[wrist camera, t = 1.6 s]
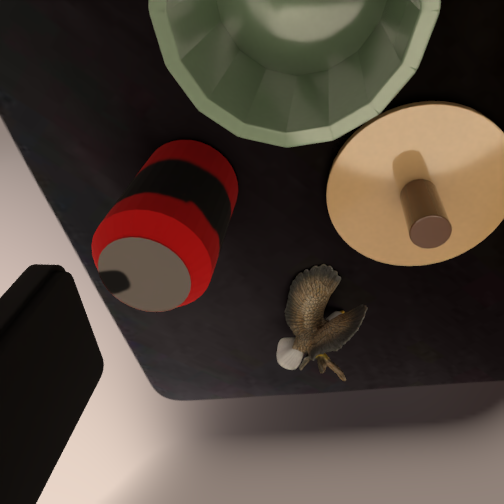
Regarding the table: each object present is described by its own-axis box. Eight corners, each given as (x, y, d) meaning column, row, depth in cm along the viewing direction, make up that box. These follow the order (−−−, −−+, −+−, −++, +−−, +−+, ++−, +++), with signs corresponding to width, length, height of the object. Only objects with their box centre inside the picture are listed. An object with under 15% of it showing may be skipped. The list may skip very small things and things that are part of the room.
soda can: (130, 151, 36) (57, 237, 26) (219, 126, 34) (175, 209, 24) (169, 230, 40) (119, 329, 30) (251, 212, 38) (225, 313, 28)
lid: (413, 56, 29) (431, 85, 24) (555, 169, 32) (597, 215, 27) (292, 201, 36) (286, 247, 31) (417, 281, 39) (430, 335, 34)
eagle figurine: (368, 351, 44) (388, 294, 37) (326, 406, 40) (339, 353, 33) (304, 309, 47) (311, 249, 40) (259, 356, 43) (259, 298, 37)
